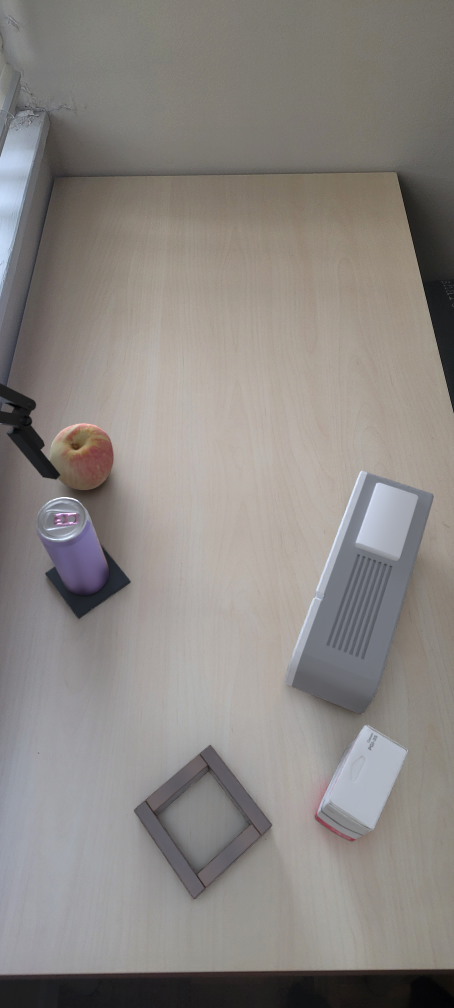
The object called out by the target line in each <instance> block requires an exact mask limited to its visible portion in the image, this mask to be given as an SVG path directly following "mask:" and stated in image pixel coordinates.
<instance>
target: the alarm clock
mask: <svg viewBox="0 0 454 1008" xmlns="http://www.w3.org/2000/svg"><path fill="white" fill-rule="evenodd" d="M349 497H350V498H349V500H348V503H347V505H346V508H345V510H344V514H343V516H342V519H341V521H340V524H339V526H338V530H337V533H336V535H335V538H334V541H333V543H332V546H331V549H330V552H329V553H328V557H327V560H326V562H325V565H324V568H323V570H322V573H321V575H320V578H319V581H318V584H317V587H316V589H315V592H314V595H313V598H312V601H311V602H310V606H309V608H308V611H307V613H306V617H305V619H304V621H303V624H302V627H301V629H300V632H299V635H298V638H297V641H296V643H295V647H294V649H293V651H292V654H291V658H290V661H289V663H288V667H287V671H286V675H285V679H284V683H285V685H287V686H289V687H291V688H295V689H296V690H299V691H302V692H304V693H307V694H309V695H312V696H314V697H317V698H319V699H321V700H323V701H326V702H328V703H332V704H334V705H336V706H339V707H340V708H343V709H346V710H349V711H351V712H354V713H356V714H359V715H362V714H364V713H365V712H366V711H367V710H368V708H369V707H370V705H371V704H372V702H373V701H374V699H375V697H376V695H377V692H378V690H379V687H380V685H381V681H382V678H383V675H384V671H385V668H386V664H387V661H388V657H389V654H390V651H391V647H392V644H393V640H394V637H395V634H396V630H397V626H398V623H399V620H400V616H401V612H402V609H403V604H404V602H405V599H406V596H407V592H408V589H409V585H410V582H411V578H412V574H413V572H414V567H415V564H416V561H417V557H418V555H419V551H420V547H421V543H422V541H423V536H424V532H425V529H426V527H427V523H428V520H429V516H430V512H431V509H432V506H433V502H434V494H433V493H431V492H429V491H427V490H423V489H419V488H416V487H413V486H410V485H407V484H404V483H401V482H398V481H395V480H392V479H389V478H386V477H383V476H381V475H376V474H373V473H370V472H367V471H364V470H361V471H360V472H359V473H358V476H357V479H356V481H355V483H354V487H353V489H352V492H351V495H350V496H349Z"/></svg>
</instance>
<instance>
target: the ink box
mask: <svg viewBox="0 0 454 1008" xmlns="http://www.w3.org/2000/svg"><path fill="white" fill-rule="evenodd" d="M408 753H409V749H408V748H406V747H405V746H403V745H401V744H400V743H399V742H397V741H396V740H394V739H393V738H390V737H389V736H387V735H385V734H384V733H382V732H381V731H379V730H377V729H376V728H374V727H372V726H370V725H369V724H365V725H364V726H363V727H362V729H361V730H360V731H359V733H357V735H356V736H355V738H354V739H353V740H352V741H351V742H350V743H349V745H348V746H347V747H346V748H345V751H344V752H343V755H342V756H341V759H340V761H339V763H338V765H337V767H336V770H335V771H334V773H333V776H332V778H331V780H330V782H329V784H328V786H327V788H326V790H325V792H324V794H323V796H322V799H321V801H320V803H319V806H318V807H317V809H316V812H315V814H314V819H315V821H317V822H318V823H319V824H320V825H322V826H324V827H325V828H327V829H328V830H329V831H331V832H332V833H334V834H335V835H337V836H339V837H341V838H343V839H345V840H347V841H350V842H354V841H356V840H358V839H359V838H360V839H361V838H362V837H363V836H365V835H367V834H368V833H370V832H372V831H374V830H375V828H376V826H377V824H378V821H379V819H380V817H381V815H382V813H383V810H384V808H385V805H386V803H387V801H388V799H389V796H390V794H391V792H392V789H393V787H394V785H395V783H396V781H397V779H398V776H399V774H400V771H401V769H402V767H403V764H404V762H405V759H406V758H407V755H408Z"/></svg>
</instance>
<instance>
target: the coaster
mask: <svg viewBox="0 0 454 1008" xmlns="http://www.w3.org/2000/svg"><path fill="white" fill-rule="evenodd" d="M100 545H101V548H102V551H103V553H104V556H105V559H106V562H107V564H108V567H109V577H108V580H107V582H106V584H105V585H104V586H103V587H102V588H101V589H100V590H99V591H97V592H96V593H94V594H91V595H85V596H82V595H76V594H74V593H72V592H70V591H69V590H68V589H67V588H66V587H65V585H64V583H63V581H62V579H61V577H60V575H59V573H58V572H57V570H56V568H55V566H53V567H52V568H50V569H48V570H47V571H46V572H44V574H45V575H46V577H47V578H48V580H49V581H50V582H51V584H52V585H53V586H54V588H55V589H56V590H57V592H58V594H60V596H61V597H62V599H63V600H64V601H65V603H66V604H67V605H68V607H69V608H70V609H71V611H72V613H74V615H75V617H77V619H78V620H80V619H81V618H83V617H84V616H85V615H86V614H89V613H90V612H91V611H92V610H94V609H95V608H97V607H98V606H100V605H101V604H102V603H104V602H105V601H106V600H108V599H110V598H111V597H112V596H113V595H115V594H116V593H118V592H119V591H121V590H122V589H123V588H125V587H126V586H128V585H129V584H130V583H131V580H130V578H129V577H128V576H127V575H126V573H125V572H124V571H123V570H122V568H121V567H120V566H119V565H118V564H117V562H116V561H115V560H114V559H113V557H112V556H111V555H110V554H109V553H108V551H107V550H106V549H105V547H104V546H103V545H102V544H101V543H100Z"/></svg>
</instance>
